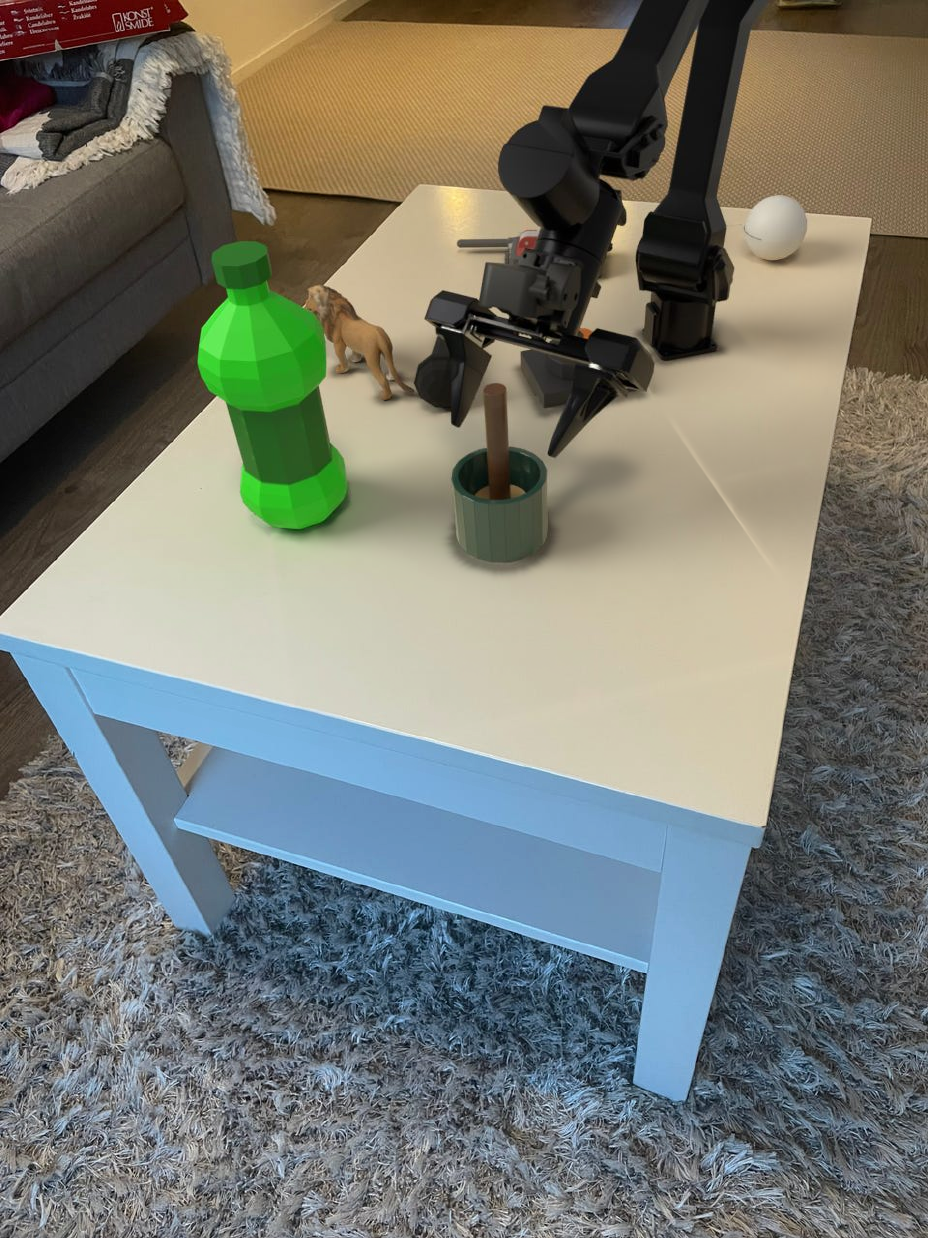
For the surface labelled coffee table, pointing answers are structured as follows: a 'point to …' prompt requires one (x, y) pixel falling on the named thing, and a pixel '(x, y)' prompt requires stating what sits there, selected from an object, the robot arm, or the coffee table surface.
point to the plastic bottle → (272, 392)
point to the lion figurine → (353, 336)
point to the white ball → (775, 227)
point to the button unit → (549, 376)
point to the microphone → (435, 376)
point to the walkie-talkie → (509, 245)
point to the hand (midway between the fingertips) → (501, 440)
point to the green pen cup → (500, 508)
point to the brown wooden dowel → (497, 445)
